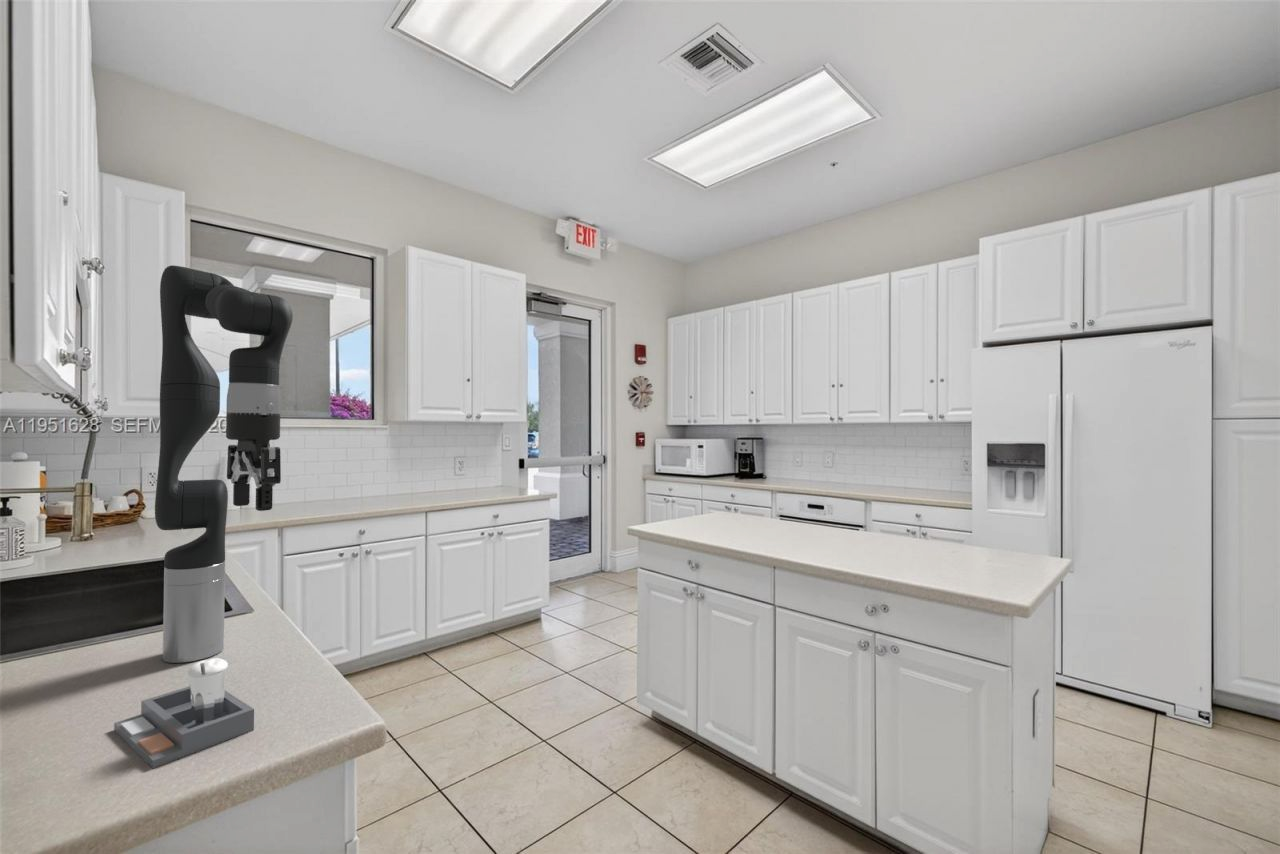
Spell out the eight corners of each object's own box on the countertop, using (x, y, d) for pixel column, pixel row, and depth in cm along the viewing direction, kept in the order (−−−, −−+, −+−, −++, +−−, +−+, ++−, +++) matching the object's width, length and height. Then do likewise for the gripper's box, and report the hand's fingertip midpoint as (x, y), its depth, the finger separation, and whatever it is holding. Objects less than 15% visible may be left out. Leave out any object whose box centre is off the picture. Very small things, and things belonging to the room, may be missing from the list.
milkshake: (180, 739, 78) (181, 665, 78) (192, 720, 83) (194, 651, 83) (220, 732, 80) (221, 660, 80) (230, 714, 85) (231, 647, 85)
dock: (114, 729, 82) (114, 708, 82) (209, 699, 91) (209, 680, 91) (152, 768, 73) (153, 744, 73) (253, 729, 82) (254, 709, 82)
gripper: (210, 410, 97) (208, 506, 97) (247, 410, 89) (245, 514, 89) (259, 412, 103) (258, 502, 103) (298, 412, 95) (296, 509, 95)
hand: (252, 507), depth 96 cm, fingers open, 8 cm apart
